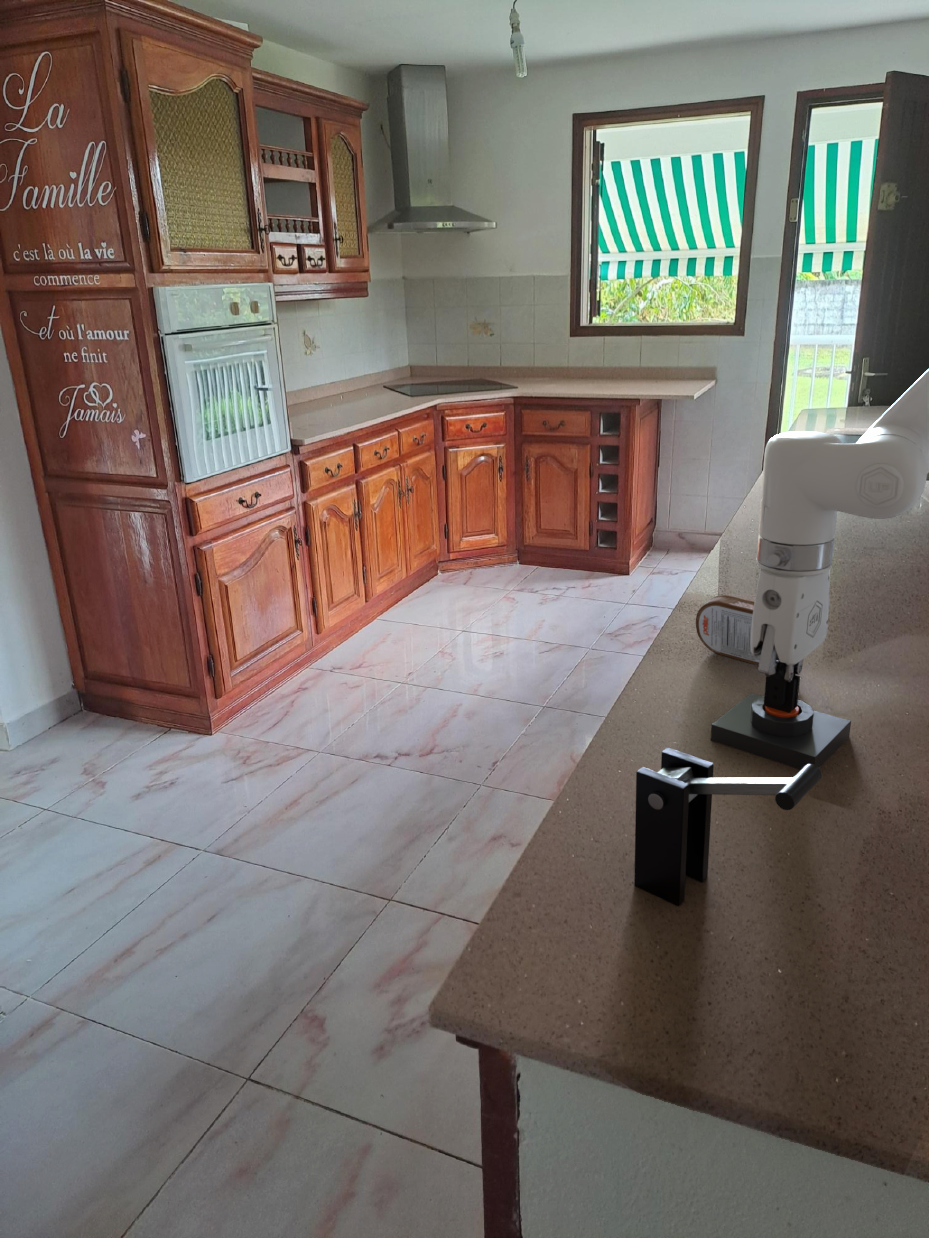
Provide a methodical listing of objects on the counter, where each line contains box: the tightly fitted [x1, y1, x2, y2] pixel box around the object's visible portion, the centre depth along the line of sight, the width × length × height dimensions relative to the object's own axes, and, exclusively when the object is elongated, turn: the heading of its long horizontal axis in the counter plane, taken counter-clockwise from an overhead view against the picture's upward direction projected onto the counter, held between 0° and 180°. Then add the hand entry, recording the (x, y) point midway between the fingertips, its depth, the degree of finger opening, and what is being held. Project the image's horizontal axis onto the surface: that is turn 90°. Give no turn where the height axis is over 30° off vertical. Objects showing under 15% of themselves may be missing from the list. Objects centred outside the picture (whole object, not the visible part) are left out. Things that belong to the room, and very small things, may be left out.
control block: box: [710, 692, 852, 771], centre depth 100 cm, size 12×10×4 cm
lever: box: [656, 764, 823, 811], centre depth 70 cm, size 13×5×2 cm, turn 47°
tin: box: [695, 594, 761, 667], centre depth 120 cm, size 15×3×8 cm, turn 45°
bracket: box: [633, 747, 715, 907], centre depth 75 cm, size 11×9×13 cm
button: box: [765, 706, 799, 718], centre depth 100 cm, size 4×4×2 cm
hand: (780, 706), depth 99 cm, fingers closed
